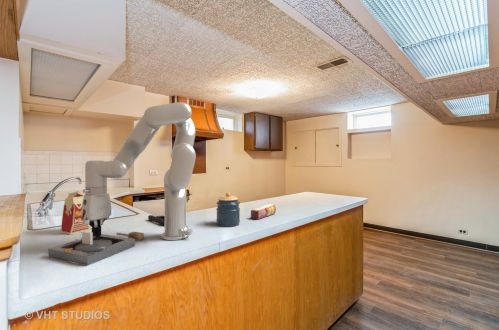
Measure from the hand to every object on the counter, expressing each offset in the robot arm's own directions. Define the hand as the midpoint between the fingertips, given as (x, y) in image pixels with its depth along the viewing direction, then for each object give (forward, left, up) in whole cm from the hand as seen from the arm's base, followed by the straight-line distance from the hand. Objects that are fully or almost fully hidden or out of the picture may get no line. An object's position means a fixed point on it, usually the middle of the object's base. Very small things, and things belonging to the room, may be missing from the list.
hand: (96, 235), depth 101 cm
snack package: (-47, -76, -5) cm, 90 cm away
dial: (-5, +5, -3) cm, 7 cm away
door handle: (+1, -44, -5) cm, 45 cm away
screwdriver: (-5, -13, -4) cm, 14 cm away
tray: (-5, +5, -4) cm, 8 cm away
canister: (-35, -51, -4) cm, 62 cm away
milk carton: (+29, -11, -4) cm, 32 cm away
